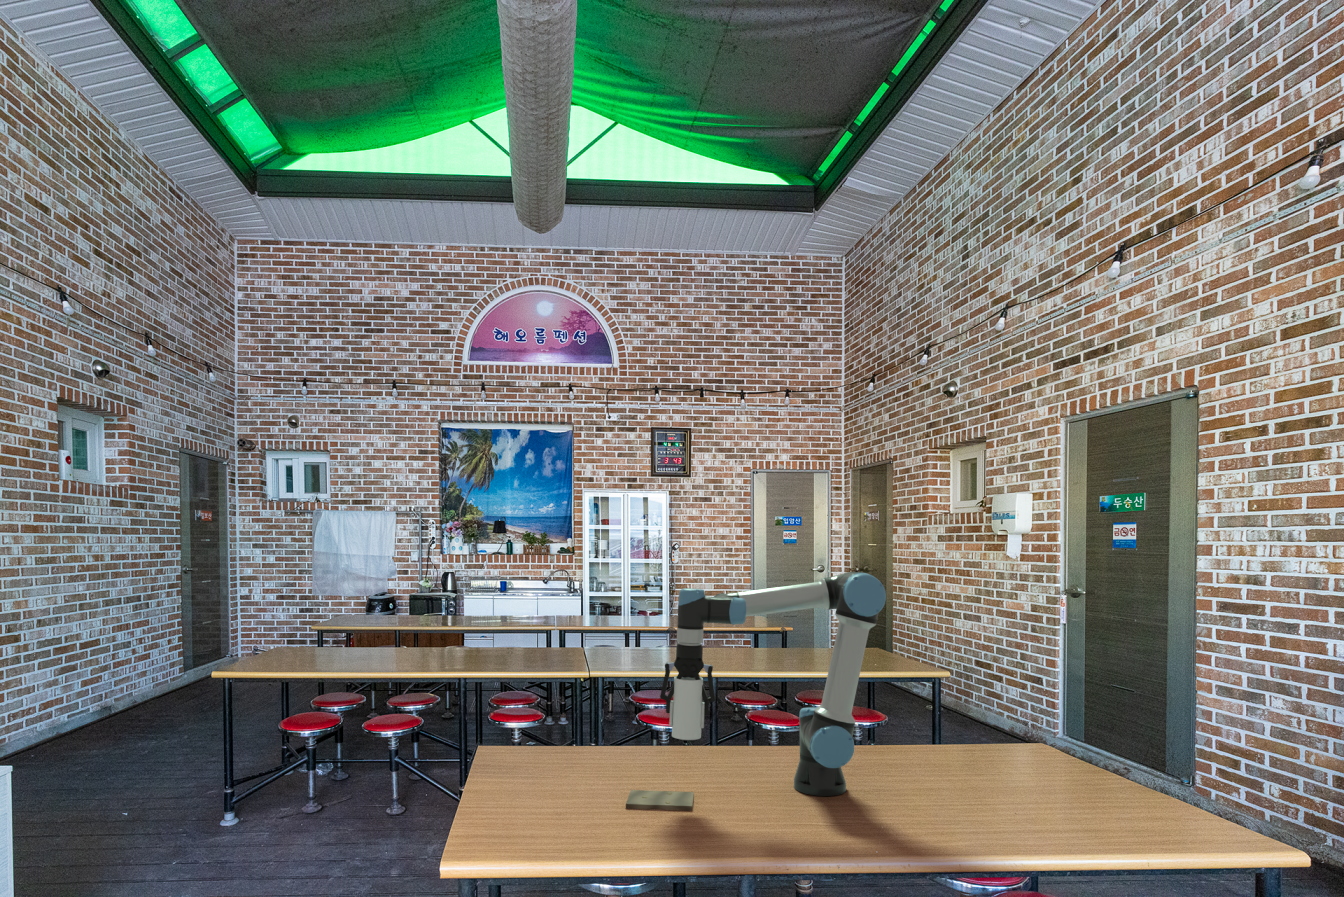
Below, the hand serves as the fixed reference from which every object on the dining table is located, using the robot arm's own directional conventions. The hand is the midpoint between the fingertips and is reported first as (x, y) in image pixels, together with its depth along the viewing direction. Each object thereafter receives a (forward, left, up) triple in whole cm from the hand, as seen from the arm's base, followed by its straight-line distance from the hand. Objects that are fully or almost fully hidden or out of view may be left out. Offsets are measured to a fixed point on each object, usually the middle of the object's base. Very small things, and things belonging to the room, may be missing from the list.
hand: (686, 726), depth 216 cm
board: (+7, +1, -20) cm, 21 cm away
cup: (0, 0, -3) cm, 3 cm away
